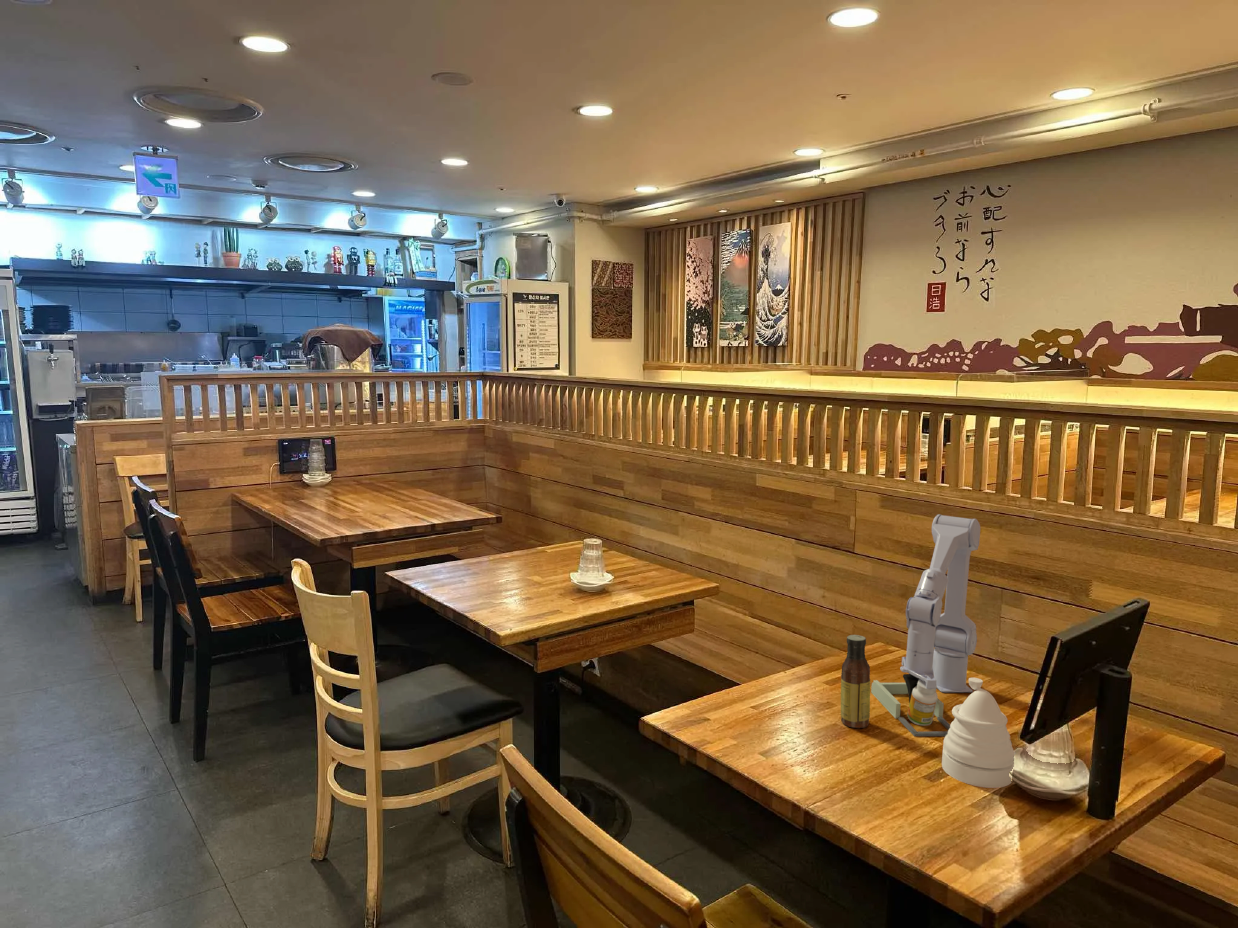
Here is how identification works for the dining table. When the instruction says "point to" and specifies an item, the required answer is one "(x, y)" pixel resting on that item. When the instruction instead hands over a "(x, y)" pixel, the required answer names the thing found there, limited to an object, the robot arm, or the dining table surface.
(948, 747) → the honey pot
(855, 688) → the sauce bottle
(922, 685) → the supplement bottle
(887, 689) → the pale green open frame
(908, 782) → the dining table surface
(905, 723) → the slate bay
